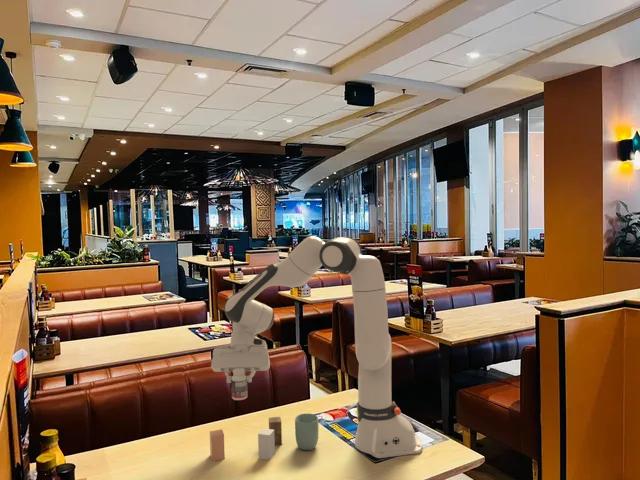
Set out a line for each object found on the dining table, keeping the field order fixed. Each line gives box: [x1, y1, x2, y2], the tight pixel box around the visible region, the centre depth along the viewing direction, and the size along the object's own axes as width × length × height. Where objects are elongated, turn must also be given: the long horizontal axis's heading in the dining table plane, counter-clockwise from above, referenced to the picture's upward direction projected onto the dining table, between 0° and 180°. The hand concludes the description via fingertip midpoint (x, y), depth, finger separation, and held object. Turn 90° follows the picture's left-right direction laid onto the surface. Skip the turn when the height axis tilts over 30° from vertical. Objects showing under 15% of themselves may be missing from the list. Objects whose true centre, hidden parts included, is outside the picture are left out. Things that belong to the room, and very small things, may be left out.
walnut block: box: [268, 416, 283, 446], centre depth 162 cm, size 4×4×8 cm
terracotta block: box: [209, 428, 226, 462], centre depth 153 cm, size 4×4×8 cm
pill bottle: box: [230, 368, 248, 401], centre depth 162 cm, size 5×5×10 cm
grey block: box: [257, 428, 276, 461], centre depth 153 cm, size 4×4×8 cm
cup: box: [294, 413, 320, 451], centre depth 158 cm, size 8×8×10 cm
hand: (238, 381), depth 161 cm, fingers closed on pill bottle, 5 cm apart
